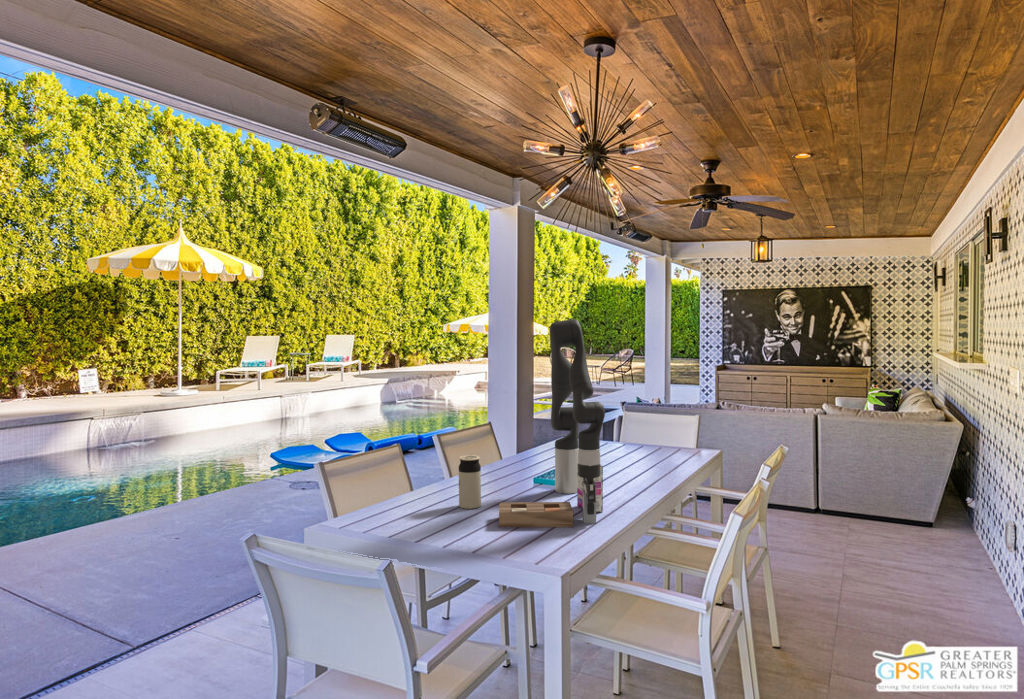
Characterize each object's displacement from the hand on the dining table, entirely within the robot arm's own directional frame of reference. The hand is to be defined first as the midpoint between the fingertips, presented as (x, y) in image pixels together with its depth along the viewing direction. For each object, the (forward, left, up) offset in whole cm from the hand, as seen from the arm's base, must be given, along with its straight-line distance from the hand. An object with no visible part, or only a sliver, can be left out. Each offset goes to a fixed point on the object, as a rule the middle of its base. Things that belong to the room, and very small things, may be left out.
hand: (589, 510), depth 219 cm
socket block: (0, -18, -4) cm, 18 cm away
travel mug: (-20, -41, -4) cm, 46 cm away
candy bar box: (-15, +2, -4) cm, 16 cm away
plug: (0, 0, -4) cm, 4 cm away
